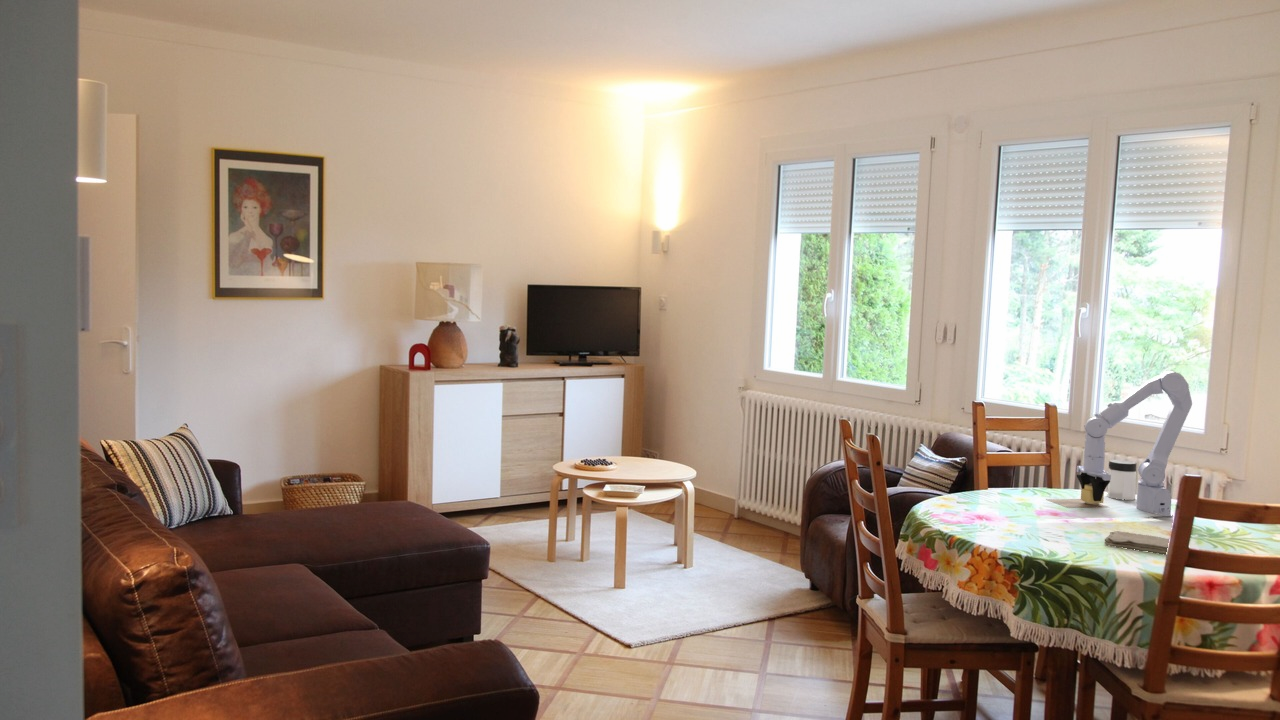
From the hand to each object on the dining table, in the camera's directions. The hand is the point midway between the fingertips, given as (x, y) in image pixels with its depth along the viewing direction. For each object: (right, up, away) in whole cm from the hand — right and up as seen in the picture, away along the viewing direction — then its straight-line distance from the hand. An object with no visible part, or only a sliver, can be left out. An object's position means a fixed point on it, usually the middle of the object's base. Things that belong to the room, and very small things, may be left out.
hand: (1092, 499), depth 299 cm
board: (-4, -3, +1) cm, 5 cm away
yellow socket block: (0, -1, 0) cm, 1 cm away
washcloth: (-8, -7, -46) cm, 47 cm away
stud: (0, -2, 0) cm, 2 cm away
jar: (+18, -2, +17) cm, 25 cm away
